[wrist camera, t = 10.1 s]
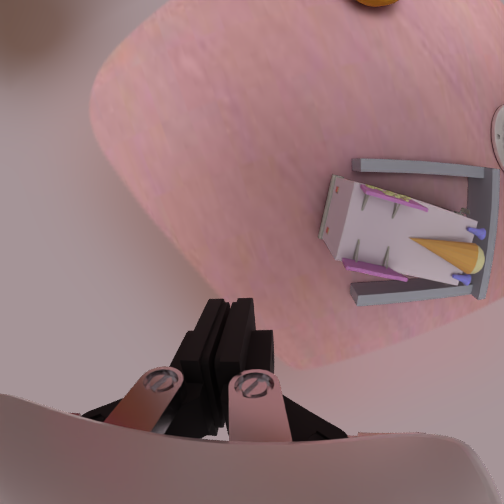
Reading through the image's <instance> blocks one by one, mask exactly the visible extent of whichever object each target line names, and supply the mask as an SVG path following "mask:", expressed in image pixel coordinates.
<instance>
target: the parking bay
mask: <svg viewBox="0 0 504 504" xmlns="http://www.w3.org/2000/svg"><path fill="white" fill-rule="evenodd" d="M352 171H359V172H396V173H420V174H437V175H451V176H463V177H468V201H467V209H469V210H470V215H467V217H468V218H470V219H473V220H475V221H478V223H477V227H476V228H477V229H480V228H484V229H485V230H486V236H485V238H484V239H483V240H480V239H479V238H478V237H477V236H476V235H474V237H473V241H472V243H476V244H477V245H478V246H480V248H481V249H482V250H483V252H484V256H485V262H484V265H483V267H482V269H481V270H480V271H479V272H477V273H475V274H470V275H471V283H470V284H469V285H468V286H466V285H465V284H464V283H463V282H461V281H459V283H458V286H456V285H452V284H447V285H445V284H444V283H443V282H438V281H433V280H429V279H424V278H417V279H408V281H407V282H404V281H400V280H391V281H377V282H362V283H351V288H350V294H351V296H352V298H353V300H354V301H355V303H356V305H357V306H368V305H380V304H391V303H401V302H411V301H420V300H429V299H438V298H446V297H454V296H461V295H468V294H472V295H473V296H474V297H475V298H476V299H478V300H480V299H485V297H486V293H487V288H488V283H489V278H490V273H491V267H492V261H493V255H494V248H495V241H496V232H497V222H498V210H499V191H500V169H494V168H486V167H478V166H469V165H460V164H450V163H439V162H426V161H411V160H392V159H352ZM462 275H466V273H464V272H462Z"/></svg>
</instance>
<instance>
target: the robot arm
mask: <svg viewBox="0 0 504 504" xmlns="http://www.w3.org/2000/svg"><path fill="white" fill-rule="evenodd" d="M491 131H492V143H493V148H494V152H495V155H496V158H497V161H498V163H499V165H500V167H501V168H502V170H503V171H504V105H502V106H500V107H499V108H498V109H497V111H496V112H495V115H494V117H493V121H492V130H491ZM225 422H226V427H227V431H228V435H229V441H220V440H208V439H202V437H204V436H206V435H212V436H217V432H218V428H219V427H220V428H222V427H224V423H225ZM0 504H504V503H503V501H502V498H501V496H500V493H499V491H498V489H497V487H496V484H495V482H494V480H493V478H492V476H491V475H490V473H489V471H488V469H487V468H486V466H485V464H484V463H483V461H482V460H481V458H480V457H479V456H478V454H477V453H476V452H475V451H474V450H473V449H472V448H471V447H470V446H469V445H468V444H466V443H465V442H463V441H461V440H458V439H456V438H452V437H448V436H443V435H435V434H426V433H419V432H418V433H360V432H358V435H357V436H350V435H347V434H346V433H345V432H344V431H342V430H341V429H339V428H338V427H336V426H334V425H332V424H331V423H329V422H327V421H325V420H324V419H322V418H320V417H318V416H317V415H315V414H313V413H312V412H310V411H308V410H307V409H305V408H303V407H302V406H300V405H298V404H297V403H295V402H293V401H292V400H290V399H289V398H287V397H285V396H284V395H282V391H281V387H280V382H279V380H278V378H277V377H276V376H275V375H274V342H273V330H256V327H255V316H254V304H253V298H238V300H237V302H233V303H232V306H231V309H230V304H229V302H225V301H224V299H209V300H208V302H207V304H206V306H205V308H204V310H203V313H202V314H201V317H200V319H199V321H198V323H197V325H196V327H195V329H194V331H188V332H187V333H186V335H185V337H184V339H183V341H182V343H181V345H180V347H179V349H178V351H177V353H176V355H175V357H174V359H173V361H172V362H171V365H170V366H169V367H165V366H164V367H157V368H154V369H151V370H149V371H147V372H146V373H144V374H143V375H142V376H141V377H140V378H139V380H138V381H137V382H136V383H135V384H134V386H133V387H132V388H131V389H130V391H129V392H128V393H127V394H126V395H125V397H124V398H122V399H120V400H117V401H115V402H112V403H110V404H107V405H104V406H102V407H99V408H96V409H94V410H91V411H89V412H87V413H85V414H83V415H82V416H81V414H80V413H67V412H64V411H61V410H57V409H54V408H51V407H48V406H45V405H42V404H39V403H36V402H33V401H30V400H27V399H24V398H20V397H17V396H13V395H7V394H0Z"/></svg>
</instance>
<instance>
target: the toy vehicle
mask: <svg viewBox="0 0 504 504" xmlns="http://www.w3.org/2000/svg"><path fill="white" fill-rule="evenodd" d="M461 209H462V210H461V211H462V213H464V214H467V215H470V210H469V209H466V208H461ZM461 211H460V213H458V212H456V211H454V212H452V211H449V210H446V209H443V208H441V207H438V206H435V205H432V204H429V203H426V202H423V201H420V200H416V199H413V198H410V197H408V196H405V195H401V194H397V193H394V192H391V191H388V190H384V189H381V188H377V187H374V186H370V185H368V184H363V183H359V182H355V181H351V180H347V179H344V177H342V176H338V175H334V174H332V178H331V182H330V187H329V191H328V196H327V200H326V205H325V209H324V213H323V218H322V222H321V226H320V230H319V234H318V238H319V239H323V240H324V242H325V244H326V245H327V247H328V249H329V250H330V252H331V254H332V256H333V257H334V259H335V260H339V261H342V262H343V264H344V266H345V269H346V270H350V271H357V272H361V273H365V274H367V275H374V276H379V277H384V278H390V279H395V280H400V281H404V282H407V281H408V278H407V277H405V276H403V275H401V274H405V275H410V276H415V277H419V278H424V279H429V280H433V281H438V282H443V283H444V284H445V285H447V284H452V285H456V286H458V283H459V281H461V282H463V283H464V284H465V285H466V286H468V285H469V284H470V283H471V275H470V274H475V273H477V272H479V271H480V270H481V269H482V267H483V265H484V262H485V256H484V252H483V250H482V249H481V248H480V246H478V245H477V244H476V243H472V241H473V237H474V235H476V236H477V237H478V238H479V239H480V240H483V239H484V238H485V236H486V230H485V229H484V228H480V229H477V228H476V227H477V223H478V221H475V220H473V219H470V218H468V217H465V216H463V215H464V214H461ZM462 272H464V273H466V275H462ZM400 273H401V274H400Z"/></svg>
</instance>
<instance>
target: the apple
mask: <svg viewBox="0 0 504 504" xmlns="http://www.w3.org/2000/svg"><path fill="white" fill-rule="evenodd" d="M356 1H358V2H360V3H361V4H364V5H367V6H374V7H378V6H385V5H389V4H393V3H395V2H397V1H398V0H356Z"/></svg>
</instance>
